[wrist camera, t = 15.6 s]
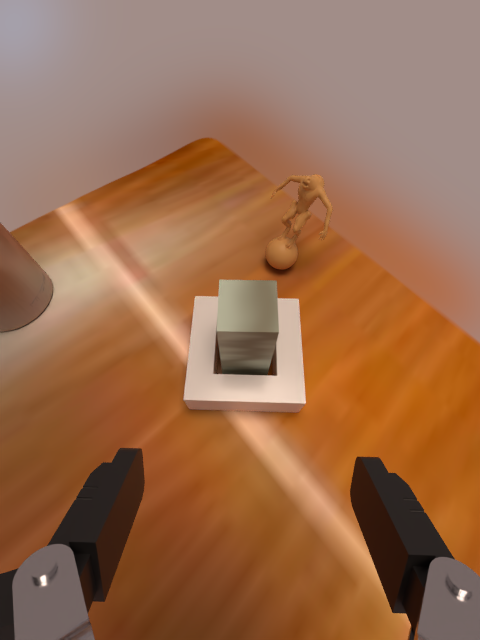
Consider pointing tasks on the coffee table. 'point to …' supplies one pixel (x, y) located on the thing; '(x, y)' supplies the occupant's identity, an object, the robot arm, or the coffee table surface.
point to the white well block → (244, 389)
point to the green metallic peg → (247, 325)
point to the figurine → (297, 219)
